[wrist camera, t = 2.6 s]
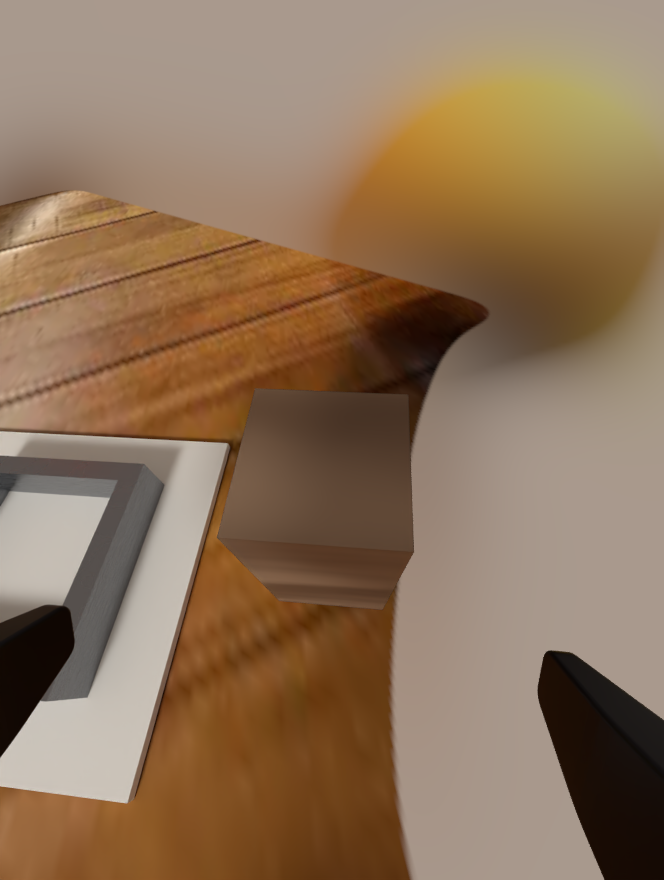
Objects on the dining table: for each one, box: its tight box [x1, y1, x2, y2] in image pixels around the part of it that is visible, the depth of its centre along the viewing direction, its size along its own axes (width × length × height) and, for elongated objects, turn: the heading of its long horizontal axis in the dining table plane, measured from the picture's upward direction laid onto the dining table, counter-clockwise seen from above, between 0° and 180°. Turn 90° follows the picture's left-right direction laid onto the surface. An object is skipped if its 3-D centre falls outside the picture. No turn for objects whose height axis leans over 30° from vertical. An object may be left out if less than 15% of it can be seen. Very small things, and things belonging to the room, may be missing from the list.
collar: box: [0, 456, 164, 702], centre depth 18 cm, size 10×10×2 cm
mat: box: [0, 431, 230, 803], centre depth 19 cm, size 16×16×1 cm
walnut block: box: [217, 388, 414, 610], centre depth 15 cm, size 5×5×10 cm
